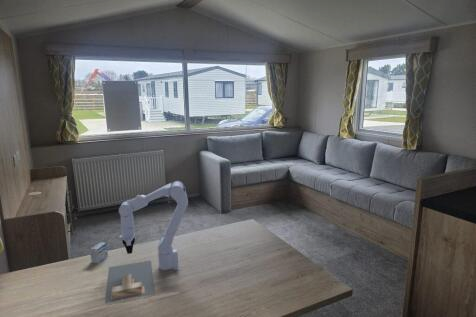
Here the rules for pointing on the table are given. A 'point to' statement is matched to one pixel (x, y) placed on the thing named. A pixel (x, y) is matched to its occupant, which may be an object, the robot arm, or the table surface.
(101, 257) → the medicine box
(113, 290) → the t block
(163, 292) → the table surface
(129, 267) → the mat
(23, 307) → the table surface
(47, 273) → the table surface
